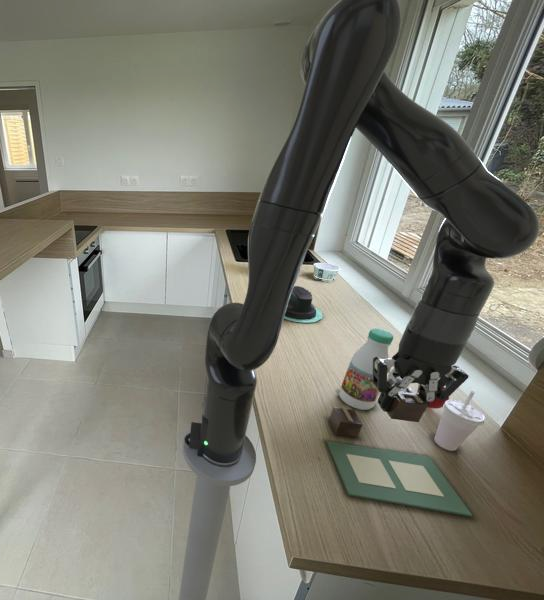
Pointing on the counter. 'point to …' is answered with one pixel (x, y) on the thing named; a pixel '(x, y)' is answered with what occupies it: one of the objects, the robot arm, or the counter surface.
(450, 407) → the smoothie
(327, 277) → the food container
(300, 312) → the chocolate cake
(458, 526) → the counter surface
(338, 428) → the tile
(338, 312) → the counter surface
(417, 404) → the tile
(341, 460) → the word mat
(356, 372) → the milk bottle
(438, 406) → the onion
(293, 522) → the counter surface
